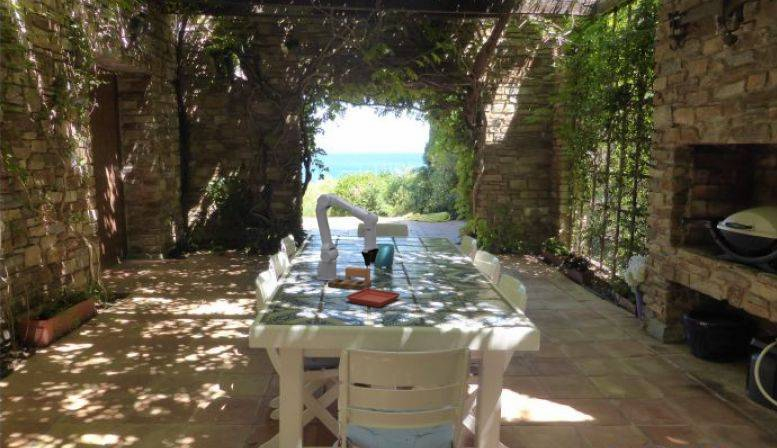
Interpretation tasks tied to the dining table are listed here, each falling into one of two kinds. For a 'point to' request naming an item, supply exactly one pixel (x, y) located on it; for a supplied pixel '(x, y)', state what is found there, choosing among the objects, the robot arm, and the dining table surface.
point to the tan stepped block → (357, 273)
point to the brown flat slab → (349, 284)
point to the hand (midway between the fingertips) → (370, 264)
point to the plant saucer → (373, 297)
